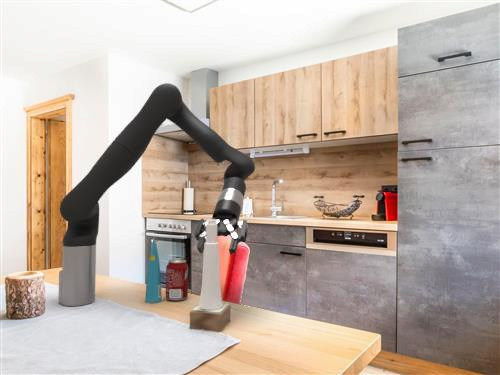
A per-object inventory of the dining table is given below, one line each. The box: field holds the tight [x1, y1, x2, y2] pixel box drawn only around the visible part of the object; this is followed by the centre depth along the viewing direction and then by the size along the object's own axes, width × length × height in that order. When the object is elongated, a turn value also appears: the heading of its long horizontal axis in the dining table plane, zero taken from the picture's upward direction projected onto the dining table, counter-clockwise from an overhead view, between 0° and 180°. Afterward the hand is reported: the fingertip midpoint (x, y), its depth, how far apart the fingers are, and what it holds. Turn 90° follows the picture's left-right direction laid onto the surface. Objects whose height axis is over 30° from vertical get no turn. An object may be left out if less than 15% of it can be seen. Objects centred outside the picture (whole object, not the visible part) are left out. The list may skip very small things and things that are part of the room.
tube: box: [144, 237, 163, 304], centre depth 113 cm, size 7×5×19 cm, turn 23°
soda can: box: [165, 258, 189, 302], centre depth 116 cm, size 7×7×12 cm
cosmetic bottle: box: [198, 218, 224, 310], centre depth 93 cm, size 6×6×22 cm
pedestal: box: [189, 302, 232, 332], centre depth 93 cm, size 8×8×4 cm
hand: (215, 252), depth 96 cm, fingers open, 8 cm apart
